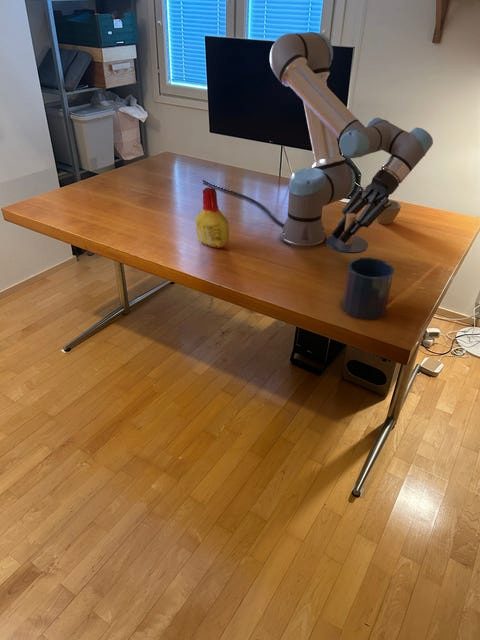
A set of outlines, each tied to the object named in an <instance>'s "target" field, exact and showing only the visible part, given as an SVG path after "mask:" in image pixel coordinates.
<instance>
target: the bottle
mask: <svg viewBox="0 0 480 640" xmlns="http://www.w3.org/2000/svg"><path fill="white" fill-rule="evenodd" d="M195 227H196V235H197V240H198V242H199V243H201V244H203V245H206V246H209V247H211V248H218V249H221V248H224V246H226V245H227V244H228V243H229V237H230V236H229V234H230V228H229V227H230V225H229V221H228V219H227V217H226V216H225V215H224V213H223V212H222V211H221V210H220V209H219V204H218V194H217V190H216V188H215V187H205V188H204V189H203V190H202V210H201V211H200V212H199V213H198V214H197V215H196V218H195ZM200 241H201V242H200ZM202 242H203V243H202ZM205 243H206V244H205ZM207 244H208V245H207ZM211 245H212V246H211ZM216 246H217V247H216Z"/></svg>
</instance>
